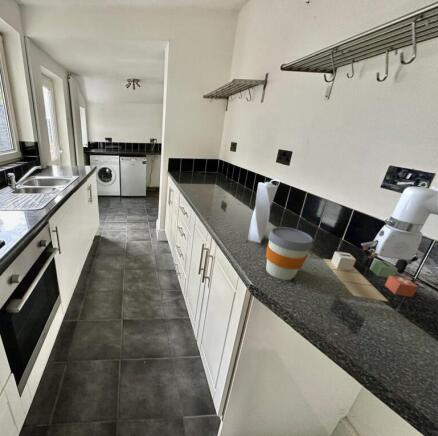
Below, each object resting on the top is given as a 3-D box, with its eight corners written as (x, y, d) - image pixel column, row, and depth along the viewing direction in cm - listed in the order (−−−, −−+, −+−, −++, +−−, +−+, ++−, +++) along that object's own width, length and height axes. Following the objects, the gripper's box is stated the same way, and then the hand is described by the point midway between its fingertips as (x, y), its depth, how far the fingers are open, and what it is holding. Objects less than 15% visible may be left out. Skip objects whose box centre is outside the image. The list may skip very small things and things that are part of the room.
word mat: (348, 264, 89) (349, 262, 88) (387, 303, 69) (389, 301, 68) (321, 260, 90) (322, 258, 90) (352, 297, 71) (353, 295, 70)
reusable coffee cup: (268, 258, 90) (278, 223, 84) (305, 273, 82) (318, 235, 76) (254, 270, 82) (264, 233, 77) (293, 288, 74) (307, 247, 68)
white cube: (344, 263, 87) (349, 253, 85) (351, 270, 83) (356, 259, 81) (330, 261, 88) (335, 251, 86) (336, 268, 84) (341, 257, 82)
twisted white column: (266, 239, 106) (281, 178, 96) (263, 245, 100) (279, 182, 90) (248, 234, 110) (261, 176, 100) (244, 240, 104) (258, 179, 94)
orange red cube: (400, 289, 75) (406, 277, 73) (411, 298, 71) (418, 286, 69) (383, 286, 76) (389, 275, 74) (393, 296, 72) (400, 283, 70)
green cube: (383, 272, 84) (388, 261, 82) (392, 280, 80) (398, 268, 78) (368, 270, 85) (373, 259, 83) (376, 277, 81) (382, 266, 79)
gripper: (380, 225, 74) (358, 270, 80) (448, 234, 70) (419, 280, 76) (366, 217, 80) (347, 259, 87) (427, 224, 77) (402, 267, 83)
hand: (381, 268), depth 82 cm, fingers open, 9 cm apart
